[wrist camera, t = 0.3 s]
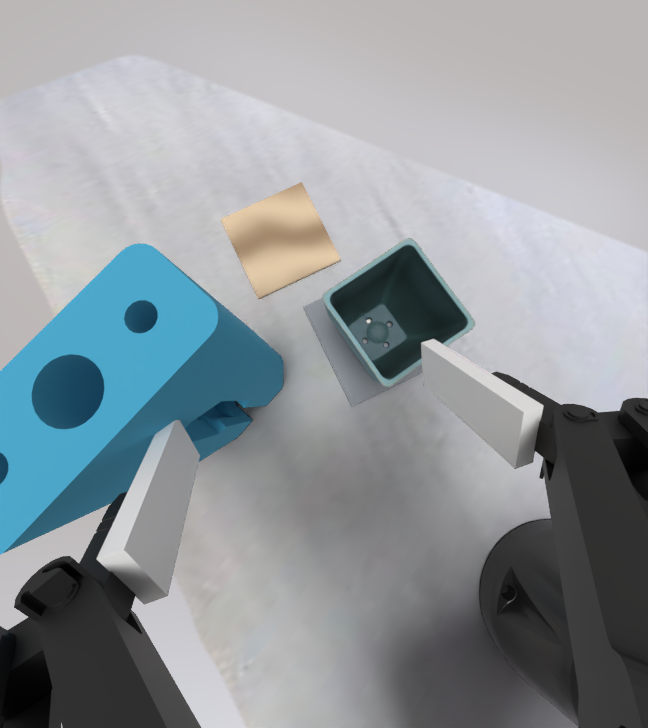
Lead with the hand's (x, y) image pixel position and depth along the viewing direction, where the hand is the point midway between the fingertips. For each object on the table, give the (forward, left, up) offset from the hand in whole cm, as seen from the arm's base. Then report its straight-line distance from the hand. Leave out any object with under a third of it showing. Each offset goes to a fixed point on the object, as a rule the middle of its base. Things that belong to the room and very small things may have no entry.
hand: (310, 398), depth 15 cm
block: (+3, +7, -15) cm, 17 cm away
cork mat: (+17, -4, -15) cm, 23 cm away
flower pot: (+3, -9, -15) cm, 18 cm away
